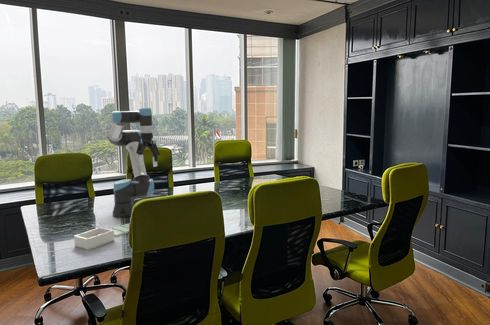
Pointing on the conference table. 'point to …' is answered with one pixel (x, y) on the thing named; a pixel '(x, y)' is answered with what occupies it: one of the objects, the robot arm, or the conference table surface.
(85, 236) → the tub
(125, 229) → the lid
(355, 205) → the conference table surface
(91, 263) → the conference table surface
